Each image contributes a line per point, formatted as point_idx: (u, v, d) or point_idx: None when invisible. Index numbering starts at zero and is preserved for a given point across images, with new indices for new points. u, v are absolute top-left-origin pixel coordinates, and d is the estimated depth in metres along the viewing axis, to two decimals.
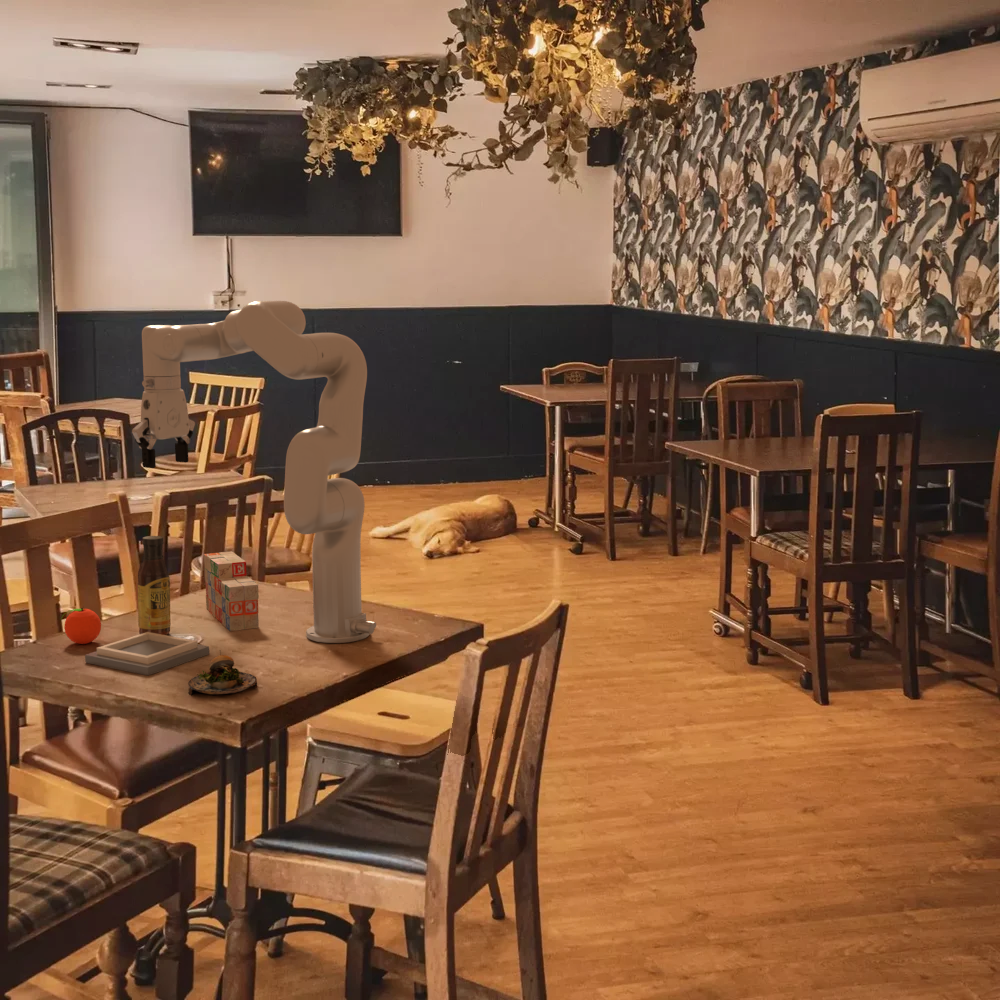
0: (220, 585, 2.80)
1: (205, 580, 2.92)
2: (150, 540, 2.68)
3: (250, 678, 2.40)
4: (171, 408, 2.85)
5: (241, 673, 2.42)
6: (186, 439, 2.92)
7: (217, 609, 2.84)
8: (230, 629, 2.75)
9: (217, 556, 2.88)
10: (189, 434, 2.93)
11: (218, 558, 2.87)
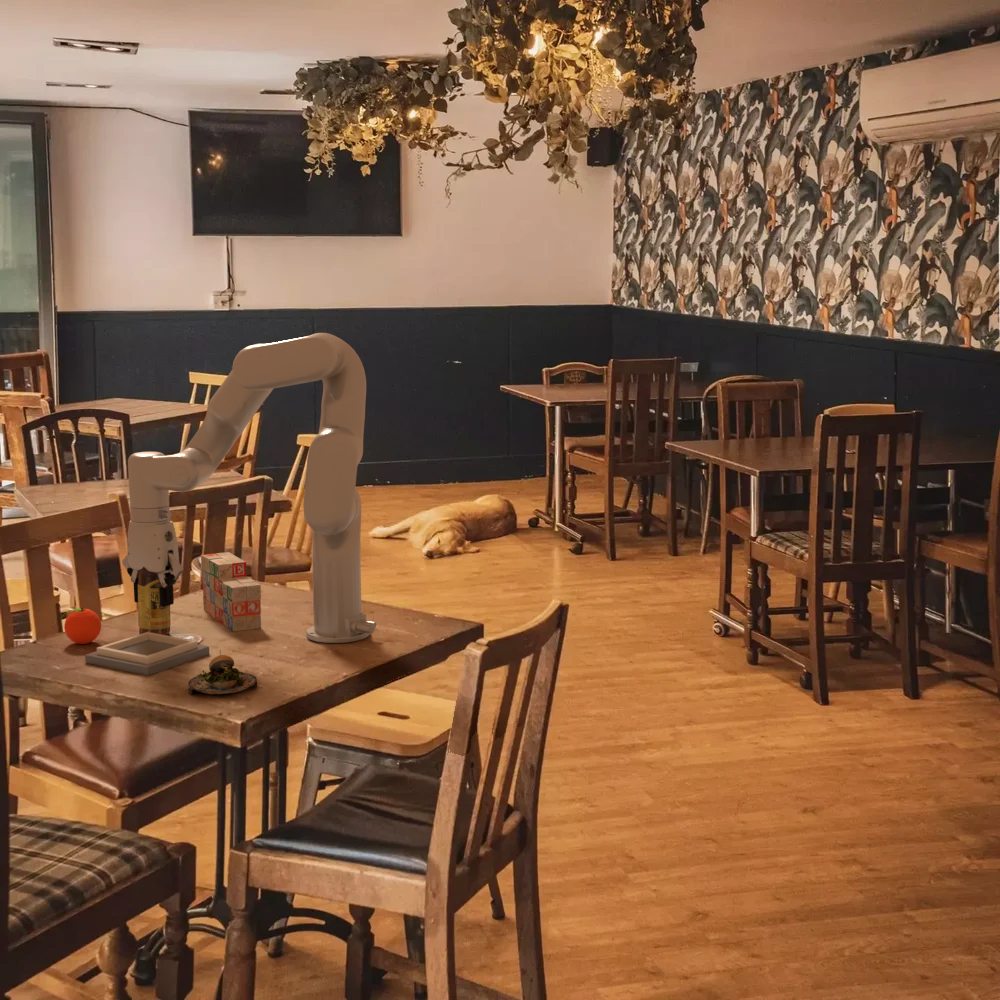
0: (221, 586, 2.80)
1: (202, 581, 2.92)
2: None
3: (250, 678, 2.40)
4: None
5: (241, 673, 2.42)
6: None
7: (217, 610, 2.84)
8: (233, 630, 2.75)
9: (215, 557, 2.88)
10: None
11: (217, 559, 2.86)
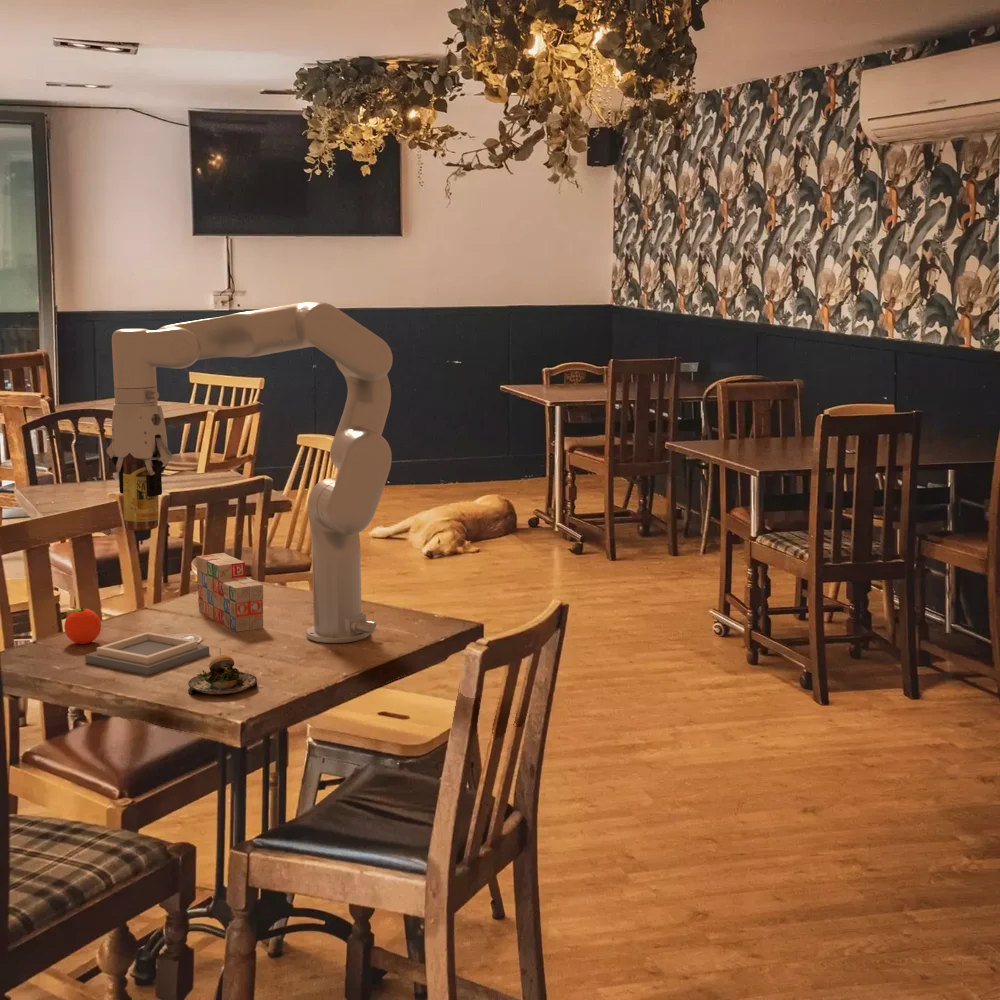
0: (221, 586, 2.79)
1: (198, 582, 2.90)
2: None
3: (250, 678, 2.40)
4: None
5: (241, 673, 2.42)
6: None
7: (216, 611, 2.83)
8: (236, 630, 2.74)
9: (212, 558, 2.87)
10: None
11: (214, 560, 2.85)
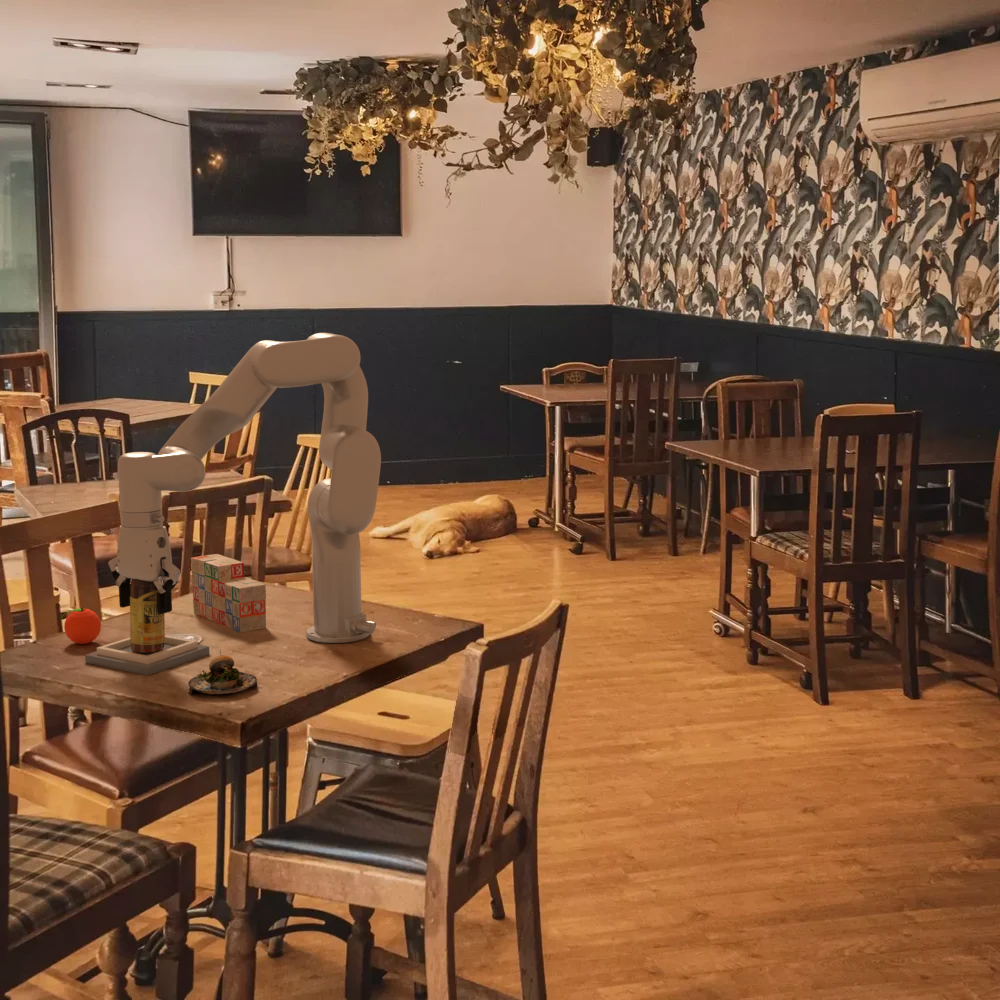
0: (222, 587, 2.78)
1: (193, 584, 2.89)
2: None
3: (250, 678, 2.40)
4: None
5: (241, 673, 2.42)
6: None
7: (215, 612, 2.82)
8: (240, 630, 2.74)
9: (209, 559, 2.86)
10: None
11: (211, 561, 2.84)
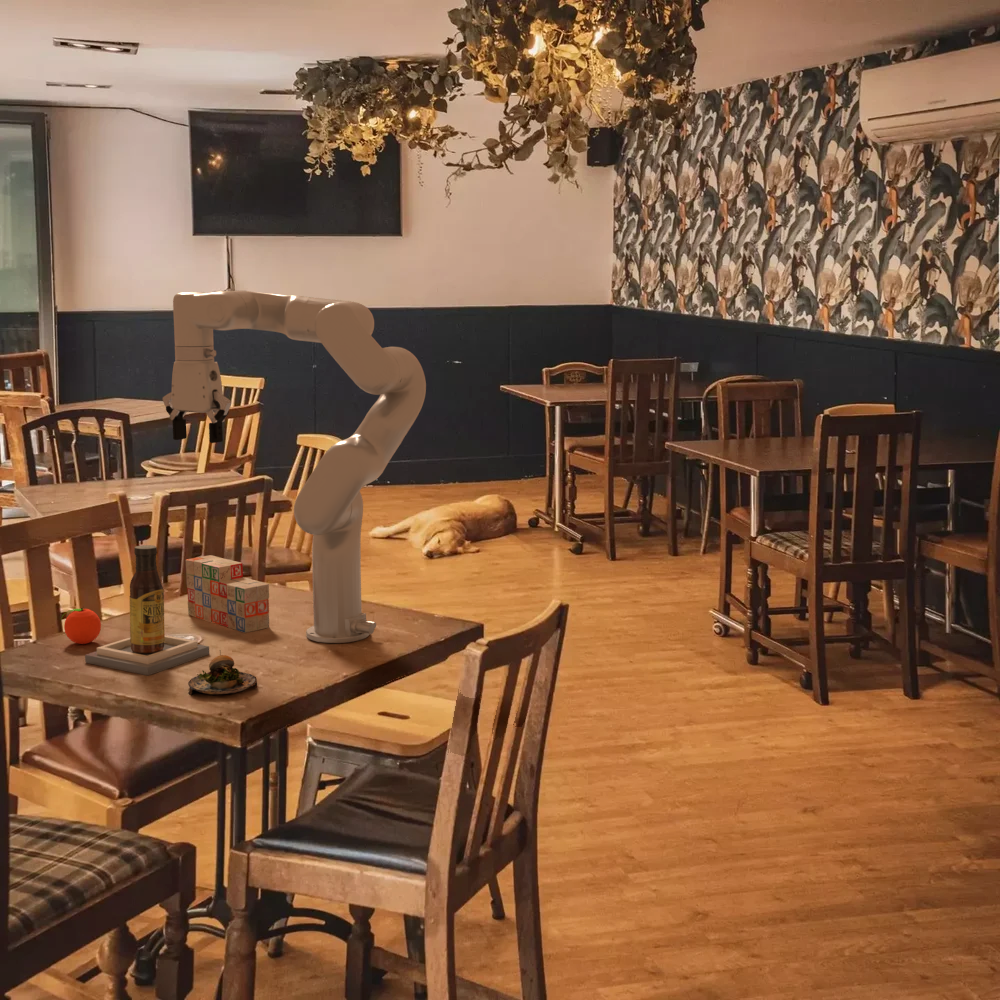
0: (223, 588, 2.78)
1: (187, 586, 2.87)
2: (143, 550, 2.51)
3: (250, 678, 2.40)
4: None
5: (241, 673, 2.42)
6: None
7: (215, 613, 2.81)
8: (245, 631, 2.74)
9: (205, 560, 2.84)
10: None
11: (209, 562, 2.83)
